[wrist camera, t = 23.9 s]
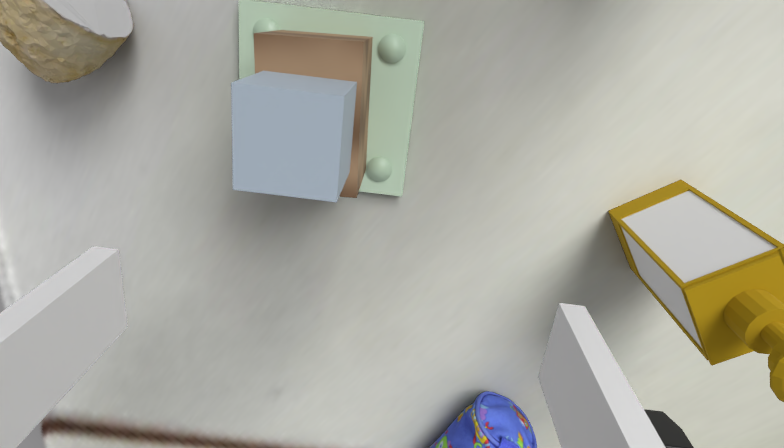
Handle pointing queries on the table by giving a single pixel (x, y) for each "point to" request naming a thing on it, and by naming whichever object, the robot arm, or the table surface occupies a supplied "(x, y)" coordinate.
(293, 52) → the walnut brick
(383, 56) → the baseplate
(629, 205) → the soap bottle
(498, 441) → the pencil case
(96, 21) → the coral
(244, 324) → the table surface
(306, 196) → the blue-grey cube
